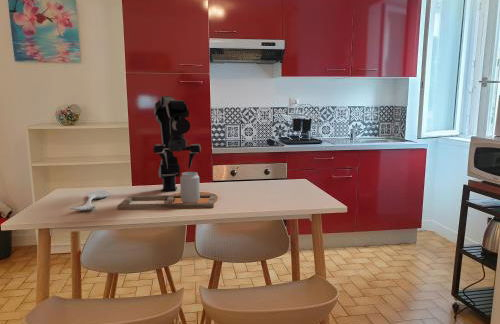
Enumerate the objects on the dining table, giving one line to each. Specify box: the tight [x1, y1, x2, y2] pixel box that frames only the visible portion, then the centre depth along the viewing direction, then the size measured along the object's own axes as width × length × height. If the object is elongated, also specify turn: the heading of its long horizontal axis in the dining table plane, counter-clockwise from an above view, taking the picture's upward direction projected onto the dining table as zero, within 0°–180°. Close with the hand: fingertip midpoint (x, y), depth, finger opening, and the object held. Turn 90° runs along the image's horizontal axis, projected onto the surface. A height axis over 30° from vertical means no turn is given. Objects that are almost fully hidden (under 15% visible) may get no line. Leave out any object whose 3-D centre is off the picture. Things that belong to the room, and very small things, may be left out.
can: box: [179, 171, 201, 203], centre depth 155 cm, size 8×8×12 cm
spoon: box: [69, 189, 110, 212], centre depth 156 cm, size 9×32×4 cm, turn 10°
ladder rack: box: [116, 193, 216, 211], centre depth 155 cm, size 16×36×2 cm, turn 92°
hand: (178, 169), depth 161 cm, fingers open, 9 cm apart
